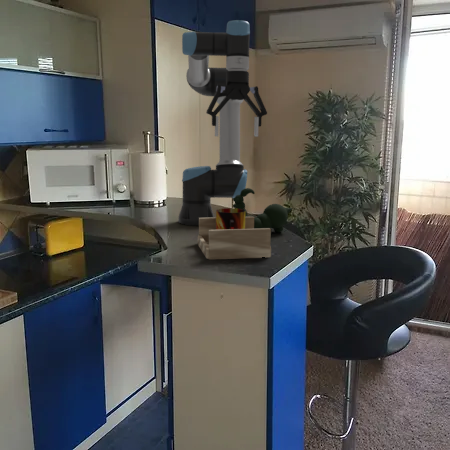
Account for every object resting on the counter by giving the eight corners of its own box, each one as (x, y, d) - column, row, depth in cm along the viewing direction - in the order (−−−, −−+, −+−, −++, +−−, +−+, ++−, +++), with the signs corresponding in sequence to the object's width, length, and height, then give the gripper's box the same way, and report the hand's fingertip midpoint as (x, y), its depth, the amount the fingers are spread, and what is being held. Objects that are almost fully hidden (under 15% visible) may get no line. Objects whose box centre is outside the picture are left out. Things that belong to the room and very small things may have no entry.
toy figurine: (243, 243, 191) (299, 231, 202) (240, 191, 187) (297, 182, 198) (231, 238, 199) (285, 227, 210) (227, 188, 195) (283, 180, 206)
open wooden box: (197, 243, 182) (197, 217, 180) (254, 241, 186) (255, 216, 184) (207, 259, 160) (207, 230, 159) (271, 257, 164) (272, 228, 163)
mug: (231, 253, 165) (231, 215, 163) (210, 244, 177) (210, 209, 175) (257, 250, 170) (258, 213, 168) (235, 241, 182) (235, 207, 179)
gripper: (201, 68, 167) (201, 136, 171) (277, 71, 172) (275, 136, 176) (198, 70, 174) (198, 135, 178) (271, 73, 179) (269, 136, 183)
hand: (236, 136), depth 177 cm, fingers open, 13 cm apart
